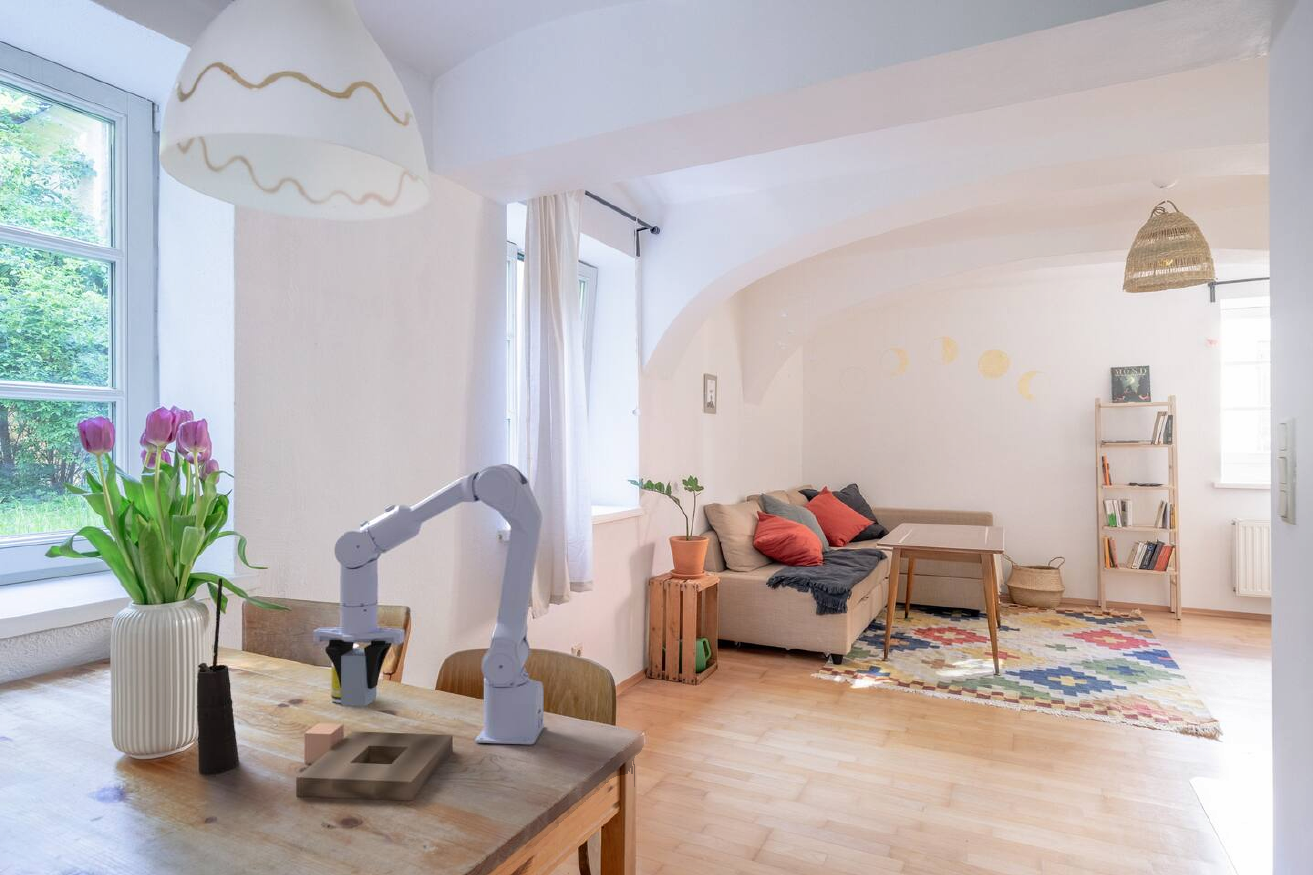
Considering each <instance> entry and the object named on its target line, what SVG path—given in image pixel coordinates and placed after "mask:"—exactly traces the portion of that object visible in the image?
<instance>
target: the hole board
mask: <svg viewBox="0 0 1313 875" xmlns="http://www.w3.org/2000/svg"><path fill="white" fill-rule="evenodd" d="M453 739H454V737H453V734H438V733H437V734H436V733H435V734H434V733H413V732H412V733H409V732H383V731H382V732H381V731H380V732H379V731H356V730H354V731H351V732H350V733H349V734H348V735H346V736H345V737H344V739H343V740H342V741H340V742H339V743H338V744H337V745H335V746H334V747H333V748H332V749H331V750H329V751H328V752H327V753H326V754H324V755H323V756H322V757H321V758H319V759H318V760H317V761H316V762H314V763H311V765H309V766H308V767H307V768H305V769H304V770H303V771H302V772H301V773H300V774H298V775H297V776H296V778H295V780H296V781H295V782H296V784H295V786H296V788H295V792H296V793H295V795H296V797H298V796H299V797H315V798H316V797H320V798H341V799H342V798H344V799H367V800H368V799H369V800H388V801H389V800H390V801H412V800H413V799H414V798H415V797H416V795H417V794H418V793H419V792H420V791H421V789H422V788H423V787H424V786H425V784H426V783H427V782H428V781H429V780H430V779H431V777H432V776H433V775H434V774H435V773H436V772H437V771H438V769H439V768H440V767H441V765H442V764H444V762H445V761H446V759H447V758H448V757H449V756H450V755H451V754H452V752H453V751H454V750H453V749H454V747H453V743H454V742H453V741H454V740H453Z"/></svg>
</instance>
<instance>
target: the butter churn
mask: <svg viewBox="0 0 1313 875" xmlns="http://www.w3.org/2000/svg"><path fill="white" fill-rule="evenodd" d="M222 590H223V578H221V577H220V578H219V579H218V582H217V597H216V598H217V599H216V600H217V601H216V610H215V611H216V612H215V615H216V617H215V633H214V641H213V643H214V645H213V656H212V657H213V658H212V665H211V666H208V665H207V663H206V662H202V663H200V664H198V665H197V667H198V669H197V670H198V671H197V673H196V674H197V677H196V678H197V681H196V710H197V712H196V713H197V714H196V716H197V717H196V718H197V719H196V720H197V746H198V747H197V748H198V749H197V751H198V752H197V753H198V755H197V756H198V761H197V762H198V771H199V772H200V773H201V774H205V775H207V774H208V775H213V774H218V773H222V772H226V771H229V770H231V769H233V768H235V767H236V766H237V765H238V764H239V762H240V758H239V752H238V744H237V743H238V742H237V732H236V728H235V719H234V717H235V716H234V708H233V703H234V702H233V699H232V693H231V692H232V691H231V682H230V681H231V680H230V672H229V667H228V665H225V664H219V665H218V658H219V657H218V654H219V653H218V652H219V650H218V649H219V637H220V636H219V634H220V621H221V609H222V608H221V606H222V595H223V592H222Z"/></svg>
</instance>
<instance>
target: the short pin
mask: <svg viewBox="0 0 1313 875" xmlns="http://www.w3.org/2000/svg"><path fill="white" fill-rule="evenodd" d="M344 727H345V725H344V723H327V722H325V723H323V722H322V723H321V722H318V723H317V724H315V725H314V726H313V727H311V728H310V729H308V730H307V731H306V732H304V749H303V750H304V753H303V754H304V764H313V763H314V762H316V761H317V760H318V759H319V758H321V757H322V756H323V755H324V754H326V753H327V752H328V751H329V750H331V749H332V748H333V747H334V746H335V745H337V744H338V743H339V742H340V741H342V740H343V739H344V738H345V737H344V732H345V730H344V729H345V728H344Z"/></svg>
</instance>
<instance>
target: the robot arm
mask: <svg viewBox="0 0 1313 875" xmlns="http://www.w3.org/2000/svg"><path fill="white" fill-rule="evenodd" d="M479 501H481V502H482V503H483V504H485V505H486V506H488V507H490V508H491V509H493V510H495V511H497V512H498V513H499V515H501V517H502V518H503V519H504V520H505V521H506V522H507V524H508V525H509V526H510V529H509V530H510V531H509V537H508V543H507V550H506V551H507V552H506V557H505V564H504V572H503V577H502V583H501V584H502V585H501V590H500V599H499V603H498V610H497V616H496V623H495V625H494V626H495V627H494V628H493V629H494V630H493V633H492V635H491V640H490V644H489V648H488V650H487V651H486V652H485V654H484V655H483V658H482V660H481V665H480V666H481V673H482V675H483V729H482V730H481V732H480V733H479V734H478V735H477V737H475V740H474V741H475V743H479V744H480V743H482V744H483V743H484V744H485V743H486V744H508V745H509V744H511V745H533V744H535V742H536V741H537V739H538V737H539V736H540V734H541V732H542V730H543V729H544V727H545V723H544V685H543V681H540V680H534V679H531V678H529V677H530V676H529V675H530V674H529V673H528V671H527V669H526V667H525V664H526V663H527V661H528V660H529V658H530V652H531V647H530V644H529V642H528V629H529V628H528V622H527V620H528V616H529V608H530V601H531V594H532V588H533V580H534V575H535V569H536V561H537V554H538V549H539V543H540V541H539V540H540V537H541V529H542V522H543V515H542V511H541V508H540V507H539V504H538V502H537V500H536V497H535V495H534V493H533V491H532V489H531V485H530V481H529V479H528V478H527V477H526V475H524V474H523V473H522V472H521V471H520V470H519V469H518V468H517V467H516V466H514V465H512V464H510V463H509V464H508V463H501V464H498V465H490V466H487V467H484V468H483V469H481V470H479V471H475V472H473V473H470V474H468V475H465V476H462V477H461V478H457V479H456V480H455V481H453V482H451V483H450V484H447V485H446V486H445V487H443V488H441V489H440V490H438V491H437V492H434V493H433V494H431V495H429V496H428V497H426V498H425V499H423V500H421V501H419V502H418V503H416V504H414V505H413V506H409V505H406V504H399V505H397V506H396V505H395V504H392V505H389V506H387V507H385V509H384V510H385V513H383V514H381V515H379V516H377V517H376V518H374V519H372V520H370V521H368V520H365V521H363V522H361V523H360V524H359V526H360V528H359V529H356V530H349V531H348V530H347V531H346V532H345V533H344V534H343V535H341V536H340V537H339V538H338V539H337V540H336V542H335V544H334V556H335V558H336V560H337V561H338V563H339V564H340V575H339V576H340V577H339V578H340V579H339V590H340V592H339V593H340V594H339V604H340V605H339V606H340V607H339V611H340V612H339V614H340V615H339V617H340V618H339V620H340V621H339V624H340V625H339V626H336V627H333V626H332V627H318V628H317V629H314V630H313V637H312V638H313V640H312V642H313V643H318V644H319V643H321V642H325V643H326V642H328V645H327V646H326V647H325V653H326V655H327V656H328V657H329V660H330V661H331V664H332V663H333V665H334V667H335V670H336V672H337V675H338V679H339V683H340V687H341V656H342V655H344V654H345V653H347V652H349V651H350V650H352V649H353V645H354V644H355V643H370V644H369V645H366V646H365V647H364V648H363V649H364V652H365V656H366V662H367V684H368V689H373V688H374V687H375V686H376V687H377V686H378V682H379V677H380V674H381V671H382V670H381V669H382V667H383V663H384V661H385V659H386V656H387V654H388V652H389V650H390V648H391V647H392V644H393V645H401V644H403V643H404V642H405V638H406V637H405V633H406V632H405V629H400V628H399V629H397V628H389V627H384V626H383V627H382V626H379V621H378V620H379V618H378V616H379V609H378V608H379V605H378V604H379V603H378V602H379V601H378V599H379V596H378V594H379V593H378V592H379V591H378V590H379V583H378V582H379V580H378V579H379V578H378V577H379V576H378V575H379V573H378V559H379V558H380V557H381V555H382V554H386V553H388V552H389V551H392V550H393V549H395V548H396V547H398V546H400V545H403V543H404V544H405V543H406V542H407V541H409V540H411V539H413V538H414V537H417V536H418V535H419V534H420V531H421V528H422V525H423V523H425V522H427V521H429V520H431V519H432V518H435V517H436V516H439V515H441V514H442V513H444V512H446V511H448V510H449V509H451V508H453V507H456V506H457V505H459V504H461V503H477V502H479Z"/></svg>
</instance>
